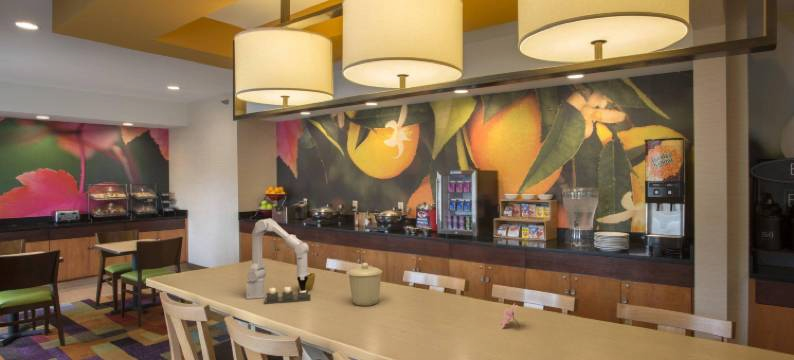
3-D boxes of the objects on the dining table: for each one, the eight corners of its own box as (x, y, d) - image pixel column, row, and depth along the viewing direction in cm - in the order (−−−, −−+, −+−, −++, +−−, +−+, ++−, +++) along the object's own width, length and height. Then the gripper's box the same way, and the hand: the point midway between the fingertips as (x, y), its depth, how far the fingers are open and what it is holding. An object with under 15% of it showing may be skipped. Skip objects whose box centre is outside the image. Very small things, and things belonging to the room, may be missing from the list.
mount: (264, 304, 239) (263, 296, 239) (265, 299, 249) (265, 292, 249) (310, 300, 243) (310, 293, 243) (310, 296, 253) (310, 288, 253)
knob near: (268, 295, 242) (268, 289, 242) (269, 294, 246) (269, 287, 246) (275, 295, 243) (275, 288, 243) (276, 293, 247) (275, 287, 247)
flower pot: (312, 291, 263) (312, 276, 263) (297, 292, 263) (297, 276, 263) (315, 288, 272) (315, 273, 272) (301, 288, 272) (300, 273, 272)
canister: (341, 306, 232) (340, 264, 232) (360, 297, 248) (359, 258, 248) (371, 310, 224) (370, 267, 224) (389, 300, 240) (388, 260, 240)
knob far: (299, 298, 245) (299, 291, 245) (299, 296, 249) (299, 289, 249) (306, 297, 246) (306, 291, 246) (306, 295, 250) (306, 289, 250)
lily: (507, 322, 204) (496, 304, 204) (531, 315, 198) (520, 297, 197) (501, 338, 194) (490, 320, 193) (526, 332, 188) (514, 313, 187)
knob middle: (284, 294, 244) (284, 288, 244) (284, 293, 247) (284, 286, 247) (291, 294, 245) (290, 287, 245) (291, 292, 248) (291, 286, 248)
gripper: (309, 267, 241) (310, 293, 241) (309, 262, 255) (310, 286, 255) (296, 268, 240) (296, 294, 240) (296, 263, 254) (297, 287, 254)
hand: (302, 290), depth 248 cm, fingers closed, pressing on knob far
